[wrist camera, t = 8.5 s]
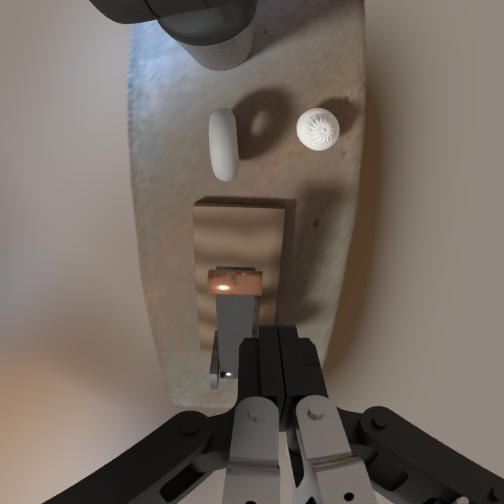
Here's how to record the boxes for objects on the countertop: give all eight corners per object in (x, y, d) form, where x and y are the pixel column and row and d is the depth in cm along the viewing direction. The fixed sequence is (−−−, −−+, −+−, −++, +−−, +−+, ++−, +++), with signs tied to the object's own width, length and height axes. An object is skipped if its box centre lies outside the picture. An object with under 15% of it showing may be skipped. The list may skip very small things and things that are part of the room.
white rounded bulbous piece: (294, 106, 41) (302, 105, 35) (334, 110, 41) (348, 110, 35) (292, 146, 44) (299, 151, 38) (331, 149, 44) (344, 155, 38)
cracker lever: (212, 249, 40) (206, 280, 35) (261, 250, 40) (263, 282, 35) (218, 355, 54) (215, 383, 49) (252, 356, 54) (253, 384, 49)
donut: (241, 172, 46) (239, 188, 37) (218, 174, 46) (210, 190, 37) (236, 108, 41) (233, 106, 32) (213, 110, 41) (203, 109, 32)
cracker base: (195, 202, 47) (177, 233, 36) (283, 205, 48) (295, 237, 36) (202, 345, 60) (194, 394, 49) (270, 348, 61) (274, 397, 49)
